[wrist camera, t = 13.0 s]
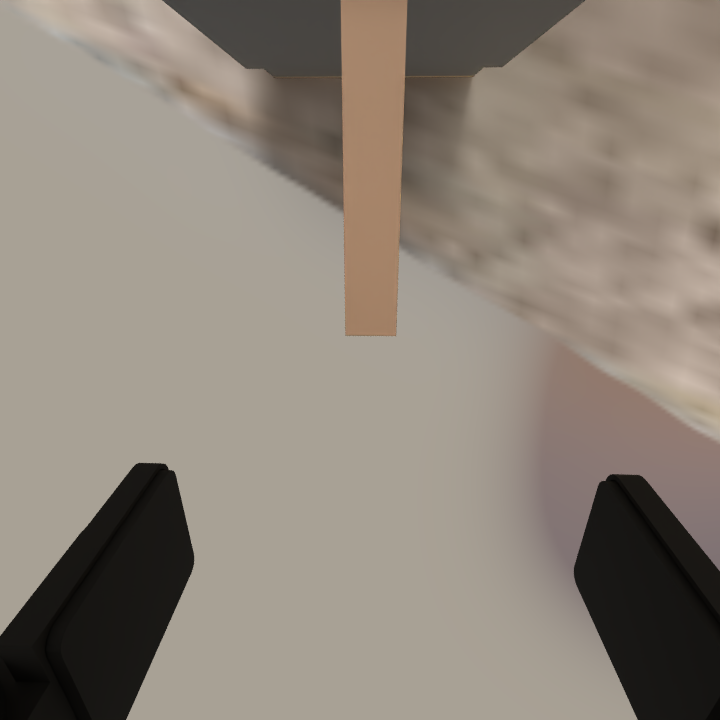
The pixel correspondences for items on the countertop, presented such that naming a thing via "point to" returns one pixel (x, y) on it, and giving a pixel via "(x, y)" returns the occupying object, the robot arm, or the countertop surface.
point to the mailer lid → (372, 97)
